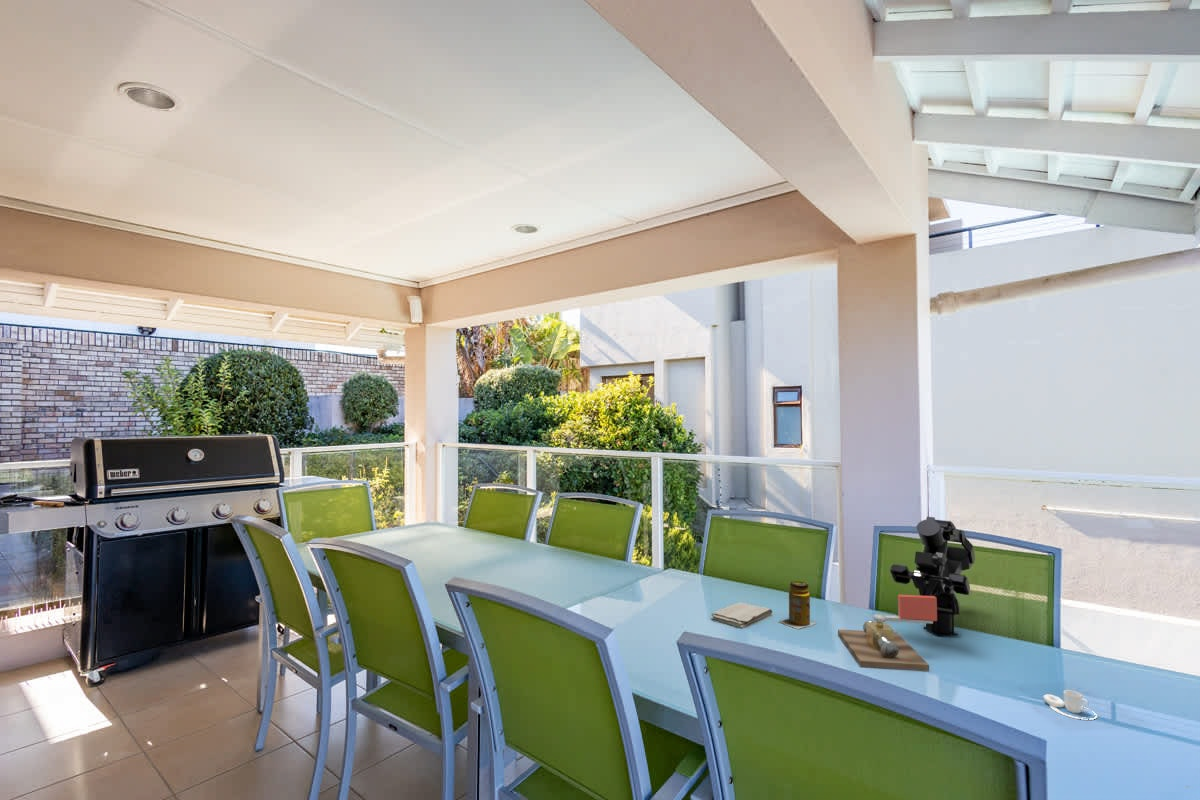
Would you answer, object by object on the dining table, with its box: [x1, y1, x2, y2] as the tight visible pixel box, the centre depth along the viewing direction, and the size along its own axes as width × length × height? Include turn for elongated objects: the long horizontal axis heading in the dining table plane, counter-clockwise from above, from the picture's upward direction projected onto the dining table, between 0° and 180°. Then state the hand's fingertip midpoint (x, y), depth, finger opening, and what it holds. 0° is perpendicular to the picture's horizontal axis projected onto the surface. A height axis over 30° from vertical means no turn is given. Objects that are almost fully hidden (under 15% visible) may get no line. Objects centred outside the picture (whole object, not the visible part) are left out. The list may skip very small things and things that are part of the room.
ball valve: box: [862, 620, 899, 658], centre depth 155 cm, size 16×5×6 cm, turn 171°
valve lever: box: [873, 594, 937, 624], centre depth 155 cm, size 15×3×7 cm, turn 81°
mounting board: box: [837, 629, 930, 672], centre depth 155 cm, size 22×16×2 cm
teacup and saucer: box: [1043, 689, 1098, 721], centre depth 124 cm, size 9×8×4 cm
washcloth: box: [711, 601, 773, 629], centre depth 182 cm, size 12×18×3 cm, turn 136°
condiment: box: [778, 580, 817, 630], centre depth 177 cm, size 7×8×12 cm
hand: (923, 605), depth 157 cm, fingers closed
